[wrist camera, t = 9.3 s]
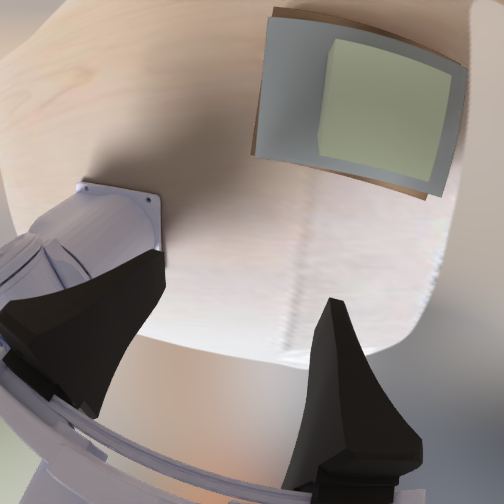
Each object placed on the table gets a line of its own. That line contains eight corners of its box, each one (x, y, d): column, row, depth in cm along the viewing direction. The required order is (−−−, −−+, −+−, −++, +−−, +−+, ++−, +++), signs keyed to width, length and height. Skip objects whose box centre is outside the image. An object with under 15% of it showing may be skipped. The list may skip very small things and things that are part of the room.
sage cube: (317, 135, 13) (319, 155, 10) (328, 53, 11) (335, 38, 7) (398, 153, 13) (428, 182, 9) (413, 75, 10) (451, 75, 7)
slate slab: (262, 148, 17) (254, 157, 15) (274, 27, 12) (268, 16, 10) (427, 183, 15) (441, 197, 13) (449, 70, 11) (467, 68, 9)
